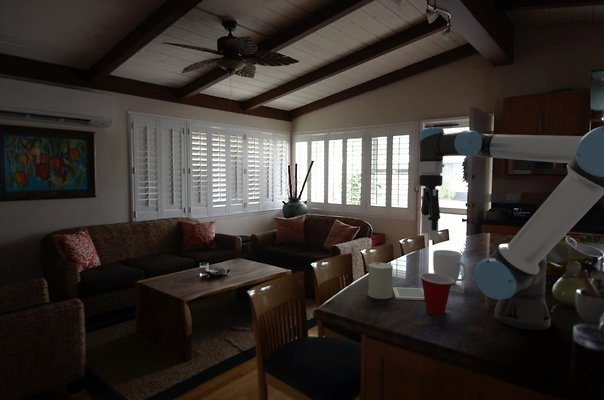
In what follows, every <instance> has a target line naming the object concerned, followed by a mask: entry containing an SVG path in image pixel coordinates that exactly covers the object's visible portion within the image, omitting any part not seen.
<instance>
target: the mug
mask: <svg viewBox="0 0 604 400" xmlns="http://www.w3.org/2000/svg"><path fill="white" fill-rule="evenodd" d="M432 255H433V256H432V267H433V268H432V269H433V273H434V274H440V275H444V276H448V277H450V278H452V279H453V280H454V283H453V285H455V284H456V283H457V282H463V281H465V280H466V279H467V277H468V275H469V273H468V270H469V269H468V267H467V265H466V264H465V262H464V261H462V253H461V252H459V251H455V250H449V249H436V250H433V254H432ZM461 267H462V268H463V272H464V273H463V277H462V278H459V277H460V273H461V269H462V268H461Z"/></svg>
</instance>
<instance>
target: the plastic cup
mask: <svg viewBox="0 0 604 400" xmlns="http://www.w3.org/2000/svg"><path fill="white" fill-rule="evenodd" d="M420 279H421V283H422V284H421V285H422V288H423V292H424V300H423V301H424V303H425V304H424V305H425V310H426V312H427V313H429V314H432V315H436V316H439V315H440V316H441V315H444V314H445V313H446V308H447V305H448V300H449V297H450V296H449V295H450V290H451V289H452V288H451V287H452V286H453V285H454V284H453V283H454V280H453V279H452V278H450V277H448V276H444V275H440V274H434V272H425V273H421V274H420ZM452 284H453V285H452Z"/></svg>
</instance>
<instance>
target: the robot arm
mask: <svg viewBox="0 0 604 400" xmlns="http://www.w3.org/2000/svg"><path fill="white" fill-rule="evenodd" d="M418 143H419V161H418V173H419V174H420V175H419V176H418V186H420V187H423V188H422V199H421V208H420V209H421V210H420V213H421V234H428V241H439V220H440V219H441V213H440V212H441V211H440V210H441V209H440V202H439V201H440V200H439V191H440V190H439V189H437V188H436V187H442V186H443V175H442V174H443V168H444V167H445V164H443V162H444V161H443V160H444V157H456V156H457V157H459V156H460V157H476V158H477V157H478V158H490V159H492V158H494V159H509V160H520V161H521V160H522V161H534V162H547V163H548V162H549V163H557V164H558V163H561V164H567V165H566V169H567V175H566V176H565V177H564V179H563V180H562V181H561V182H560V183H559V184H558V185H557V187H556V188H555V189H554V190H553V191H552V193H551V194H550V195H549V196H548V197H547V199H545V200H544V202H543V203H542V204H541V205H540V206H539V208H538V209H537V210H536V211H535V212H534V214H532V216H531V217H530V218H529V219H528V221H527V222H526V223H525V224H524V225H523V226H522V228H521V229H519V231H518V232H517V233H516V235H514V237H513V238H512V239H511V240H510V241H509V243H501V244H499V245H498V247H497V248H496V249H495V250H494V251H493V252H492V253H491V255H490V256H488V258H484V259H482V260H481V261H480V262H478V263H477V264H476V266H475V268H474V273H473V276H474V277H473V278H474V282H475V284H476V286H477V287H478V289H479V290H480V292H481V293H482V294H484V295H485V296H487V297H488V298H490V299H491V300H492V299H493V300H495V301H496V300H497V303H496V306H495V307H494V318H495V319H496V320H497V321H499V322H500V323H503V324H505V325H508V326H510V327H514V328H518V329H522V330H531V331H533V330H534V331H539V330H540V331H541V330H547V329H549V328H550V327H551V320H552V319H551V315H550V313H549V312H550V311H549V309H548V306H547V303H546V297H545V296H546V295H545V293H546V278H547V277H546V275H547V264H548V261H547V255H548V254H549V253H550V251H552V249H553V248H554V247H555V246H556V245H557V244H558V243H559V242H560V241H561V240H562V239H563V238H564V237H565V236H566V235H567V233H568V232H570V231H571V229H572V228H573V227H574V226H576V224H577V223H578V222H579V221H580V220H581V219H582V218H583V217H584V216H585V215H586V214H587V212H589V210H590V209H592V207H594V205H595V204H596V203H598V201H599V200H600V199H601V198H602V197H603V196H604V125H602V126H599V127H596V128H594V129H592V130H590V131H589V132H587V133H586V134H584V135H581V136H580V135H579V136H576V135H539V134H538V135H537V134H536V135H534V134H532V135H531V134H492V133H479V132H478V131H477V130H461V131H454V132H445V131H444V128H443V127H426V128H423V129H421V130H420V136H419V142H418Z"/></svg>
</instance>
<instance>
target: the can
mask: <svg viewBox="0 0 604 400" xmlns="http://www.w3.org/2000/svg"><path fill="white" fill-rule="evenodd" d="M393 267H394V265H392V264H391V263H387V262H371V263H369V264H368V287H367V288H368V289H367V290H368V292H367V295H368V296H369V297H370V298H373V299H379V300H387V299H391V298H392V297H393V272H394V271H393Z"/></svg>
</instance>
